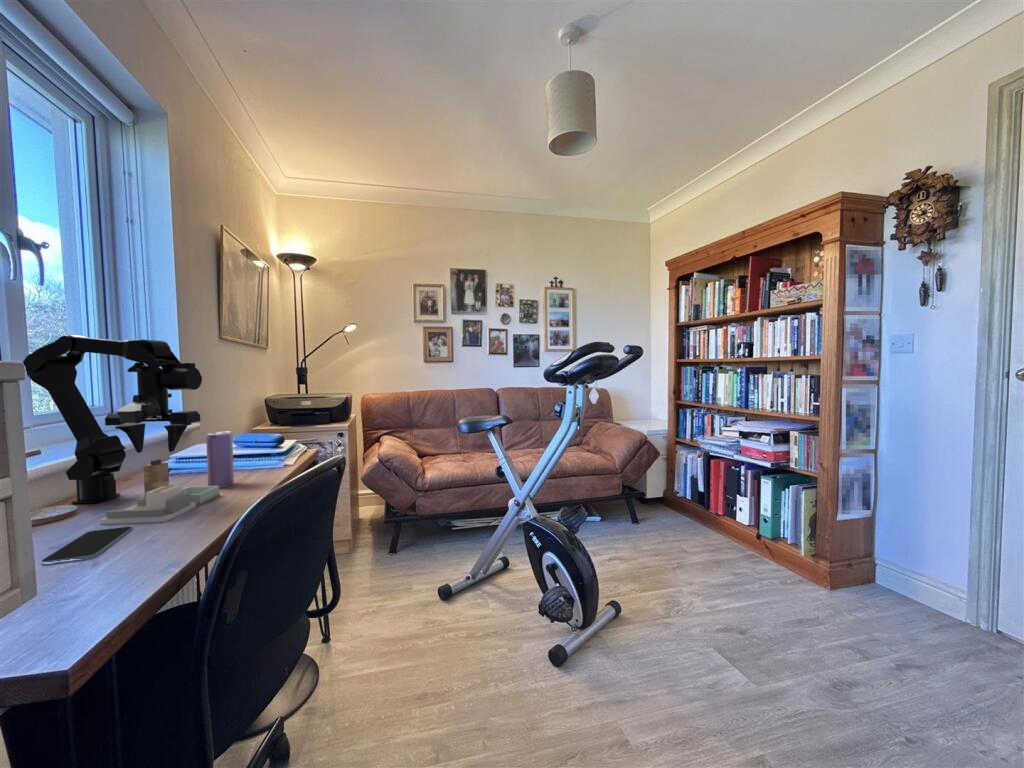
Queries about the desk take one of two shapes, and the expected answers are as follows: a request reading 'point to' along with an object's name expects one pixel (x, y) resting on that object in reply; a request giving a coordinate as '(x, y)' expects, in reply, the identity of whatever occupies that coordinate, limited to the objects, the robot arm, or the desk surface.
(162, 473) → the tan rectangular block
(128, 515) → the panel
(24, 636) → the desk surface
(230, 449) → the beverage can
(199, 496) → the holder
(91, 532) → the smartphone
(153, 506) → the breaker
